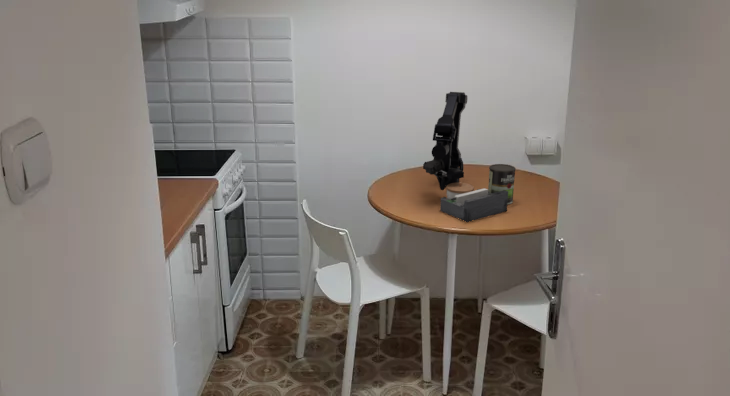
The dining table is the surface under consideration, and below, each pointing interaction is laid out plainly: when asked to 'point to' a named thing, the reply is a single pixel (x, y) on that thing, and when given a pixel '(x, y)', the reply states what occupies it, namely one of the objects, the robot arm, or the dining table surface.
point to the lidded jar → (458, 189)
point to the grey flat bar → (470, 195)
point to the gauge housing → (476, 206)
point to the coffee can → (502, 179)
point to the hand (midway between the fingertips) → (442, 190)
